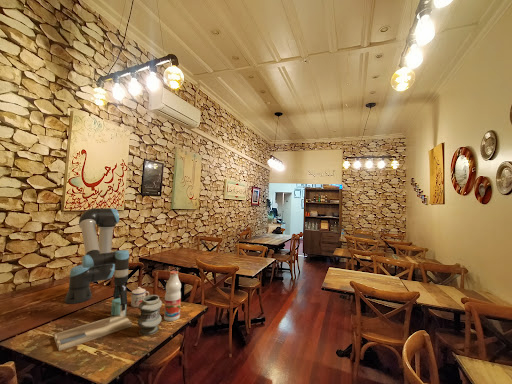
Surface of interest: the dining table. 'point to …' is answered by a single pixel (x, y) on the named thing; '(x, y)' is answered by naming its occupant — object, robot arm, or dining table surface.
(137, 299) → the teacup with lid
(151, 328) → the apothecary jar
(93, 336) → the board
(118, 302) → the bracket
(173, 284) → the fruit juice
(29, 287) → the dining table surface
